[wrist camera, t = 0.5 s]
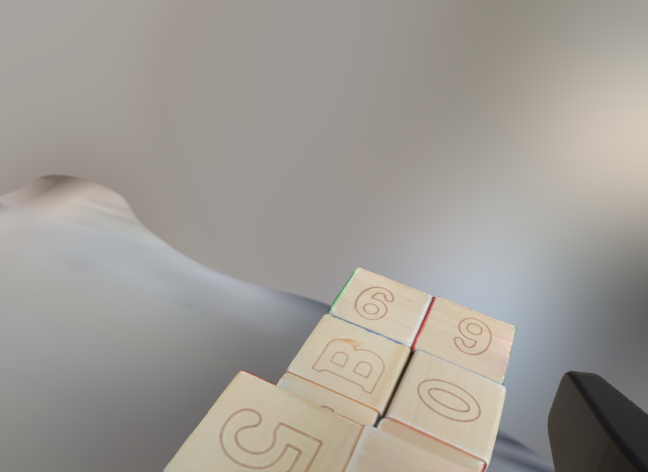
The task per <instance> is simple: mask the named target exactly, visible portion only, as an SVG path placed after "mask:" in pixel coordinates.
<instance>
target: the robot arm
mask: <svg viewBox="0 0 648 472" xmlns="http://www.w3.org/2000/svg"><path fill="white" fill-rule="evenodd" d="M548 435H549V441H550V446H551V451H552V458H553V464H554V469H555V472H648V414H647V413H645V412H644V411H643V410H642V409H640V408H639V407H638V406H637V405H635V404H634V403H633V402H632V401H630V400H629V399H628V398H627V397H626V396H624V395H623V394H622V393H621V392H619V391H618V390H617V389H616V388H614V387H613V386H612V385H611V384H609V383H608V382H607V381H606V380H604V379H603V378H602V377H600V376H599V375H597V374H594V373H585V372H576V371H569V372H567V373H565V374H564V376H563V377H562V379H561V382H560V384H559V387H558V390H557V393H556V395H555V398H554V401H553V404H552V407H551V409H550V412H549V416H548Z"/></svg>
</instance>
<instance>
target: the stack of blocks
mask: <svg viewBox="0 0 648 472" xmlns="http://www.w3.org/2000/svg"><path fill="white" fill-rule="evenodd" d="M516 330H517V329H516V327H515V326H512V325H510V324H508V323H505V322H502V321H500V320H497V319H495V318H492V317H489V316H487V315H484V314H482V313H479V312H477V311H474V310H472V309H469V308H467V307H464V306H461V305H459V304H456V303H454V302H451V301H449V300H447V299H444V298H441V297H432V296H430V295H429V294H427V293H424V292H422V291H419V290H417V289H414V288H411V287H409V286H406V285H404V284H401V283H399V282H396V281H393V280H391V279H388V278H385V277H383V276H380V275H378V274H375V273H372V272H370V271H367V270H365V269H362V268H360V267H358V268H357V269H356V270H355V271H354V272H353V274H352V276H351V277H350V279H349V280H348V282H347V283H346V285H345V286H344V288H343V289H342V291H341V292H340V294H339V295H338V296H337V298H336V299H335V301H334V303H333V305H332V306H331V308H330V310H329V312H328V314H324V316H323V317H322V318H321V319H320V321H319V322H318V324H317V325H316V327H315V328H314V330H313V331H312V333H311V334H310V336H309V337H308V338H307V340H306V342H305V343H304V345H303V346H302V348H301V349H300V351H299V352H298V354H297V355H296V357H295V358H294V359H293V361H292V362H291V364H290V365H289V367H288V369H287V371H286V373H285V374H283V375H282V376H281V378H280V379H279V380H278V382H277V383H276V385H274V384H272V383H270V382H268V381H266V380H264V379H262V378H260V377H258V376H256V375H254V374H251V373H249V372H246V371H244V370H243V371H239V372H238V373H237V374H236V376H235V377H234V378H233V379H232V381H231V382H230V383H229V385H228V386H227V387H226V389H225V390H224V391H223V393H222V394H221V395H220V397H219V398H218V399H217V400H216V402H215V403H214V404H213V406H212V407H211V408H210V410H209V411H208V413H207V414H206V415H205V417H204V418H203V419H202V421H201V422H200V423H199V424H198V426H197V427H196V428H195V429H194V431H193V432H192V433H191V434H190V436H189V437H188V438H187V440H186V441H185V442H184V444H183V445H182V446H181V448H180V449H179V450H178V451H177V453H176V454H175V455H174V457H173V458H172V459H171V461H170V462H169V463H168V465H167V466H166V467H165V468H164V470H163V472H485V471H486V469H487V468H488V466H489V464H490V460H491V456H492V452H493V448H494V443H495V439H496V435H497V431H498V427H499V422H500V418H501V413H502V408H503V404H504V399H505V394H506V388H505V387H504V385H503V383H504V380H505V376H506V372H507V368H508V364H509V360H510V356H511V351H512V347H513V343H514V339H515V335H516Z"/></svg>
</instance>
